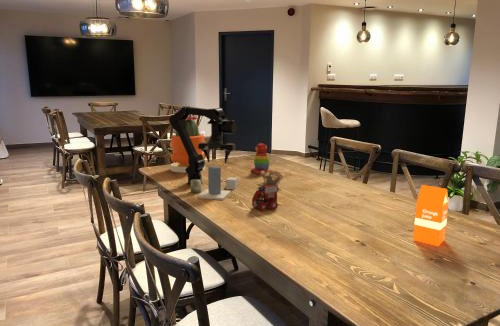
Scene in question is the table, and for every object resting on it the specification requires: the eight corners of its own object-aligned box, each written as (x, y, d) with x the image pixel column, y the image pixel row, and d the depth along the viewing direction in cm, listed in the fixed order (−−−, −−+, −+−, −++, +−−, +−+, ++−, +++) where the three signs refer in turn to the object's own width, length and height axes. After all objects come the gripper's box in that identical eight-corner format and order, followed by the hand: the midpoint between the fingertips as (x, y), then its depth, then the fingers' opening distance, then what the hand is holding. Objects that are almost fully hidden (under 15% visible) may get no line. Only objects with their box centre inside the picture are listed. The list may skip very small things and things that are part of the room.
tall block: (208, 192, 205) (208, 167, 202) (216, 191, 207) (216, 166, 204) (212, 195, 201) (212, 168, 198) (220, 193, 203) (220, 167, 201)
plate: (197, 197, 200) (197, 195, 199) (206, 190, 212) (206, 188, 212) (223, 200, 196) (223, 198, 196) (231, 192, 209) (231, 190, 209)
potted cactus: (168, 167, 265) (167, 112, 257) (203, 165, 271) (202, 111, 264) (173, 175, 244) (171, 115, 237) (210, 172, 251) (209, 114, 244)
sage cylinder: (189, 193, 208) (189, 181, 207) (192, 190, 213) (192, 179, 211) (198, 193, 207) (198, 182, 205) (202, 191, 211) (202, 179, 210)
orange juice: (419, 234, 157) (424, 182, 153) (444, 240, 151) (450, 186, 147) (412, 240, 151) (417, 186, 147) (438, 246, 145) (444, 191, 141)
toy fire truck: (248, 207, 186) (249, 185, 184) (273, 204, 191) (274, 182, 189) (255, 212, 180) (256, 189, 177) (280, 208, 185) (281, 186, 183)
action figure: (274, 175, 233) (287, 180, 219) (261, 189, 230) (273, 195, 217) (263, 162, 229) (276, 167, 215) (250, 177, 227) (262, 182, 213)
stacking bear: (249, 171, 257) (250, 142, 253) (264, 169, 261) (264, 141, 257) (257, 174, 247) (257, 145, 243) (272, 173, 251) (273, 144, 247)
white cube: (225, 188, 217) (225, 179, 216) (228, 186, 221) (228, 177, 220) (234, 189, 216) (235, 180, 214) (237, 187, 220) (237, 177, 219)
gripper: (194, 134, 209) (194, 164, 212) (229, 135, 205) (229, 166, 208) (201, 131, 220) (202, 160, 223) (235, 132, 215) (235, 162, 218)
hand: (217, 162), depth 218 cm, fingers open, 9 cm apart
